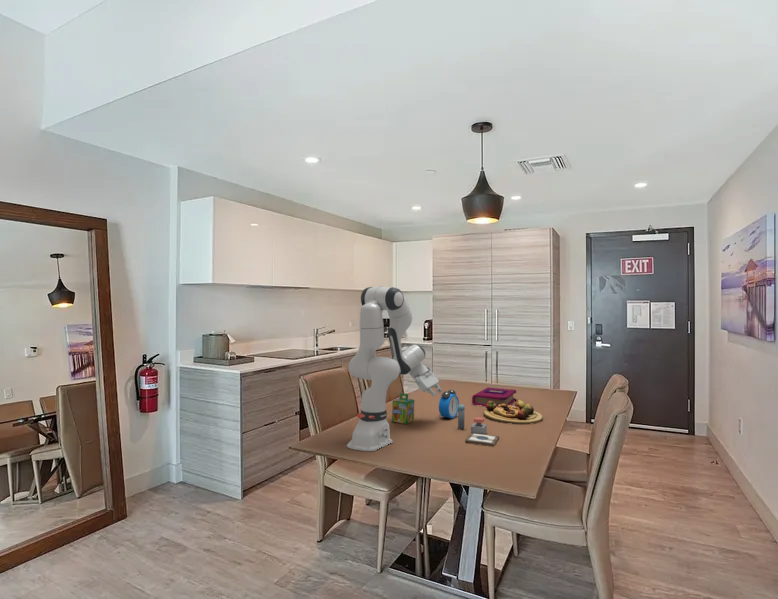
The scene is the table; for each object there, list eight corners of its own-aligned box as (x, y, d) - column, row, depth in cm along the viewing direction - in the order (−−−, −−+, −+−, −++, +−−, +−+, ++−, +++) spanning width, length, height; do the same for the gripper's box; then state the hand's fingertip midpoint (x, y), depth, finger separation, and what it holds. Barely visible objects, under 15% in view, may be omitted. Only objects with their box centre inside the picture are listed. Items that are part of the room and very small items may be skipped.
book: (471, 405, 289) (472, 393, 289) (485, 397, 313) (485, 386, 313) (505, 409, 279) (505, 396, 279) (516, 400, 303) (516, 389, 303)
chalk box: (391, 422, 247) (391, 394, 247) (399, 418, 255) (399, 391, 255) (407, 424, 243) (407, 396, 243) (414, 420, 251) (414, 393, 251)
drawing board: (493, 446, 207) (493, 443, 207) (465, 442, 213) (465, 439, 213) (499, 438, 219) (499, 435, 219) (471, 435, 225) (471, 432, 225)
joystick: (463, 430, 233) (463, 406, 233) (457, 429, 234) (457, 405, 234) (465, 428, 236) (465, 404, 236) (458, 427, 238) (458, 404, 238)
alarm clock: (447, 421, 250) (448, 393, 250) (438, 419, 254) (438, 391, 254) (459, 416, 261) (459, 389, 261) (449, 414, 265) (449, 388, 265)
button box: (483, 436, 223) (484, 427, 223) (470, 434, 226) (470, 426, 226) (486, 432, 229) (486, 424, 229) (473, 431, 231) (473, 423, 231)
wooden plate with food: (472, 416, 261) (472, 402, 260) (502, 407, 283) (503, 393, 283) (523, 429, 238) (524, 413, 238) (553, 418, 260) (553, 403, 260)
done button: (482, 427, 225) (482, 419, 225) (473, 426, 226) (473, 418, 226) (483, 425, 228) (483, 417, 228) (475, 424, 230) (475, 417, 230)
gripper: (417, 372, 234) (436, 393, 230) (430, 367, 252) (447, 386, 249) (409, 380, 236) (427, 401, 232) (422, 374, 254) (439, 394, 250)
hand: (438, 393), depth 240 cm, fingers open, 8 cm apart
